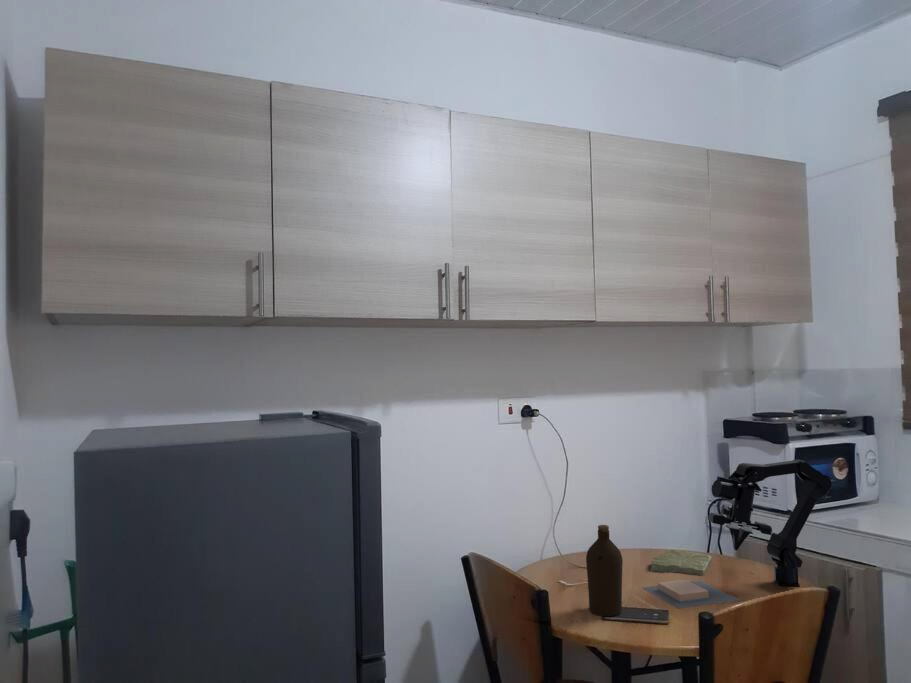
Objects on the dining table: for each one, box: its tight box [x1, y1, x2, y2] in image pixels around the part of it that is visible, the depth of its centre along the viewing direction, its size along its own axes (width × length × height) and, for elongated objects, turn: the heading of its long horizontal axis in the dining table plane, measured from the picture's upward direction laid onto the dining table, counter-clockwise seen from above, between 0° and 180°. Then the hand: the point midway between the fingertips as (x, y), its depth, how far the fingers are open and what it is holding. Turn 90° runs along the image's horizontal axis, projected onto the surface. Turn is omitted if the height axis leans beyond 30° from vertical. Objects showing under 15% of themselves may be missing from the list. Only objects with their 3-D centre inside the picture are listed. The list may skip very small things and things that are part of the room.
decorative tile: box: [650, 549, 713, 576], centre depth 245 cm, size 19×20×4 cm
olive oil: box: [585, 524, 624, 617], centre depth 202 cm, size 11×11×25 cm
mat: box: [641, 580, 740, 609], centre depth 214 cm, size 22×20×1 cm
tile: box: [657, 578, 709, 603], centre depth 213 cm, size 2×12×10 cm
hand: (735, 549), depth 222 cm, fingers closed
